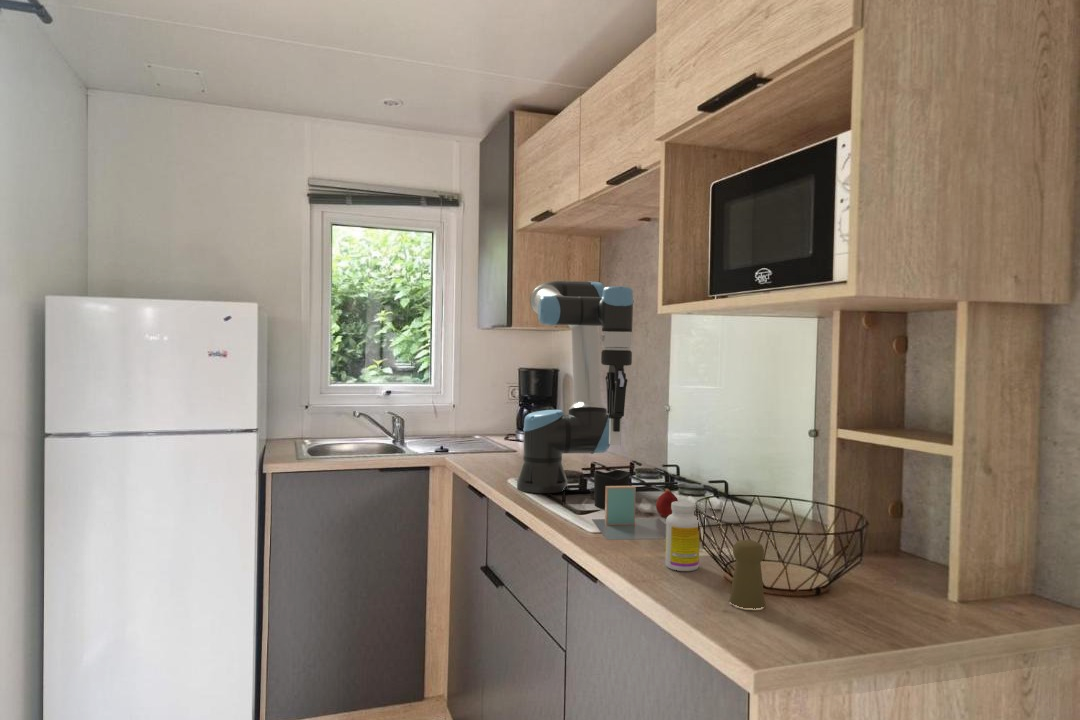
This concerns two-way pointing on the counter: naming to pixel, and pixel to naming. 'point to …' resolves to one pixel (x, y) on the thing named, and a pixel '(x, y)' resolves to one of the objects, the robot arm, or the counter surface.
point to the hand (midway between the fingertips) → (614, 444)
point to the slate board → (633, 529)
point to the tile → (620, 505)
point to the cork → (747, 575)
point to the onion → (665, 503)
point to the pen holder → (608, 484)
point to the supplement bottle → (682, 537)
